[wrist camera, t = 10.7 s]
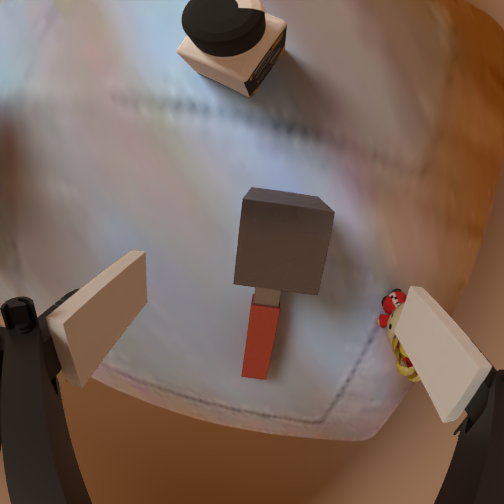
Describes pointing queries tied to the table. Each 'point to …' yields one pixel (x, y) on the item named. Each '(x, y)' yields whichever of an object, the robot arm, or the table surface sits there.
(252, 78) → the medicine bottle
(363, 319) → the table surface
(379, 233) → the table surface
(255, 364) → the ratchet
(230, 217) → the table surface
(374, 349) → the table surface
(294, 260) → the dark wooden cube
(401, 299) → the toy
